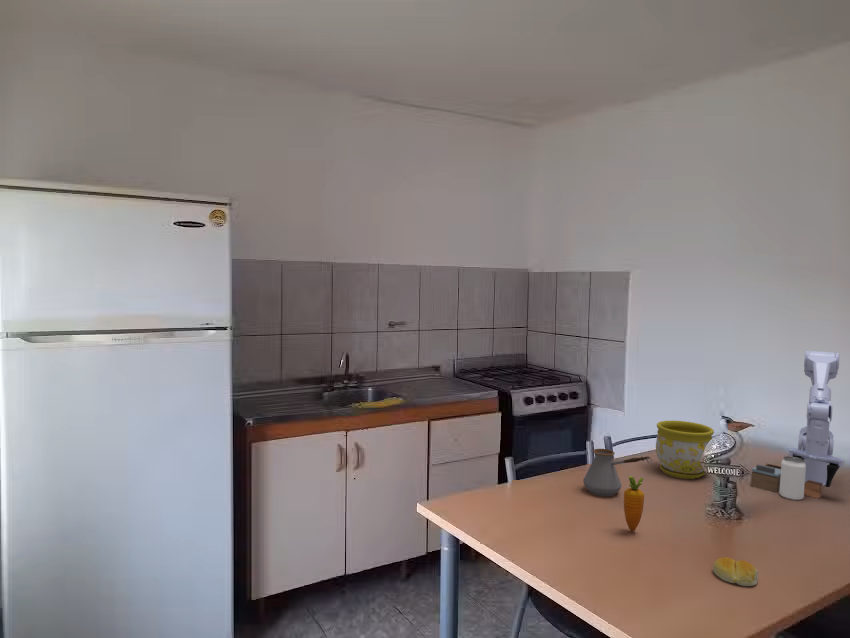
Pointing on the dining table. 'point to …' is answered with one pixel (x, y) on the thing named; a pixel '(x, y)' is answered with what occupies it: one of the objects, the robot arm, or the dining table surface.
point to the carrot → (633, 504)
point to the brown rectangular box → (766, 480)
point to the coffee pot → (605, 473)
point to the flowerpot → (682, 447)
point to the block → (813, 489)
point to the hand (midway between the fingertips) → (813, 483)
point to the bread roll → (736, 571)
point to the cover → (767, 470)
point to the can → (792, 478)
